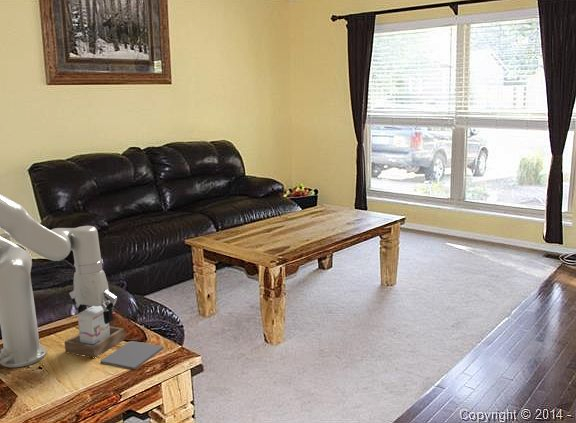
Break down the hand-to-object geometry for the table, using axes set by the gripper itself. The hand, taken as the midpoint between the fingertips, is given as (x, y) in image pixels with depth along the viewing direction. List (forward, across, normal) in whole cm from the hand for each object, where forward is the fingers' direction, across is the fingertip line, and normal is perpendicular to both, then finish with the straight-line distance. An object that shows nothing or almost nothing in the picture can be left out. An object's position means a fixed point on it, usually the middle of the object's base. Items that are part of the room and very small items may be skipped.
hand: (96, 320), depth 171 cm
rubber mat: (+8, +14, -2) cm, 17 cm away
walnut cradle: (+8, -1, -1) cm, 8 cm away
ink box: (+8, -1, -1) cm, 8 cm away
